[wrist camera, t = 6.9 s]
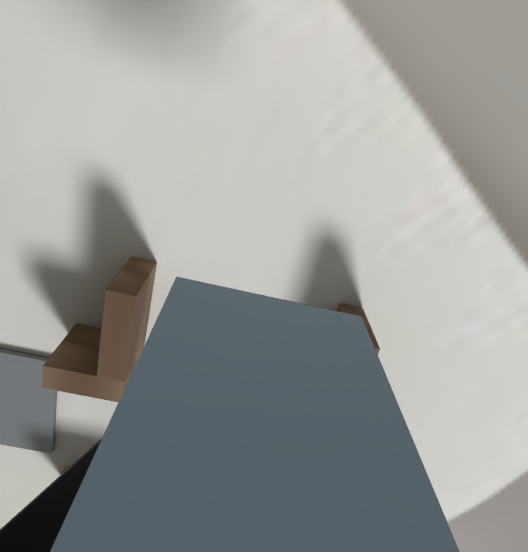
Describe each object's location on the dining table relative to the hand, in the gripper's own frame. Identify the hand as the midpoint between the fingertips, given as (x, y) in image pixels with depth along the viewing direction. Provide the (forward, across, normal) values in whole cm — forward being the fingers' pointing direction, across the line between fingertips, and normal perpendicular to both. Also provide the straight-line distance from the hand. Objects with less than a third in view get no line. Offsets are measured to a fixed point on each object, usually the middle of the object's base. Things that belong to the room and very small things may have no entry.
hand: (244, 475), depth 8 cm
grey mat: (+13, +12, +12) cm, 21 cm away
